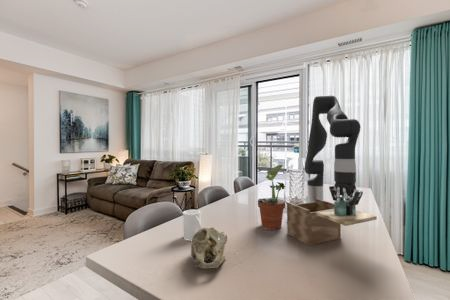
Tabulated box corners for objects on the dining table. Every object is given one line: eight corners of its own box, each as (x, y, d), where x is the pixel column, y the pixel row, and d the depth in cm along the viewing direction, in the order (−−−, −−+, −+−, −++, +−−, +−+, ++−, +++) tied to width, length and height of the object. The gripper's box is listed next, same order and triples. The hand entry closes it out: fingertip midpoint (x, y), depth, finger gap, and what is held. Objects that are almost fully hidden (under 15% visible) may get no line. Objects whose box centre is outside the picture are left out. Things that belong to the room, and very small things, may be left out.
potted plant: (292, 226, 115) (292, 159, 115) (274, 233, 106) (273, 161, 105) (269, 218, 127) (268, 158, 127) (251, 225, 118) (250, 159, 117)
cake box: (287, 233, 106) (286, 202, 106) (317, 227, 113) (316, 198, 113) (308, 245, 93) (308, 210, 93) (340, 238, 100) (340, 205, 100)
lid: (315, 214, 90) (315, 199, 90) (344, 209, 97) (344, 195, 96) (345, 225, 77) (345, 208, 77) (376, 219, 84) (376, 203, 83)
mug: (207, 240, 99) (207, 214, 99) (189, 245, 94) (189, 217, 94) (196, 232, 109) (196, 208, 109) (180, 236, 104) (179, 211, 104)
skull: (235, 278, 76) (193, 282, 69) (214, 247, 94) (180, 248, 88) (241, 247, 75) (199, 248, 69) (219, 221, 93) (185, 221, 87)
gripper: (323, 169, 92) (323, 210, 92) (354, 172, 79) (354, 220, 79) (336, 168, 95) (336, 208, 95) (368, 171, 82) (368, 217, 82)
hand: (345, 213), depth 87 cm, fingers closed on lid, 3 cm apart
